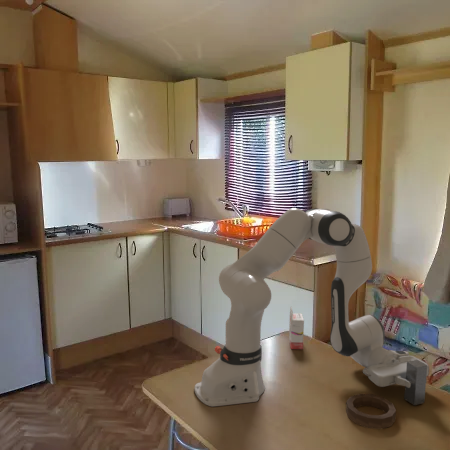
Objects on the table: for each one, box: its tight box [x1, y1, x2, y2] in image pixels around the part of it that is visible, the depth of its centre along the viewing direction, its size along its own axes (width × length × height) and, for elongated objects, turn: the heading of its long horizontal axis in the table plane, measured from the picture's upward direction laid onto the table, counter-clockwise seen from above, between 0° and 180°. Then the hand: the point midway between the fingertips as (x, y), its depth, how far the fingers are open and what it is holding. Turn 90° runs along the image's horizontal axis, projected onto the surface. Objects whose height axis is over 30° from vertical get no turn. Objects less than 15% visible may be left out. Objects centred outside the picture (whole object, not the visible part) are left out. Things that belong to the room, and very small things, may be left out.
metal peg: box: [403, 360, 427, 406], centre depth 142 cm, size 4×4×12 cm
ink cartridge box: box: [288, 306, 305, 350], centre depth 185 cm, size 9×5×15 cm, turn 178°
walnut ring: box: [345, 393, 397, 430], centre depth 137 cm, size 13×13×3 cm
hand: (417, 383), depth 142 cm, fingers closed on metal peg, 4 cm apart
